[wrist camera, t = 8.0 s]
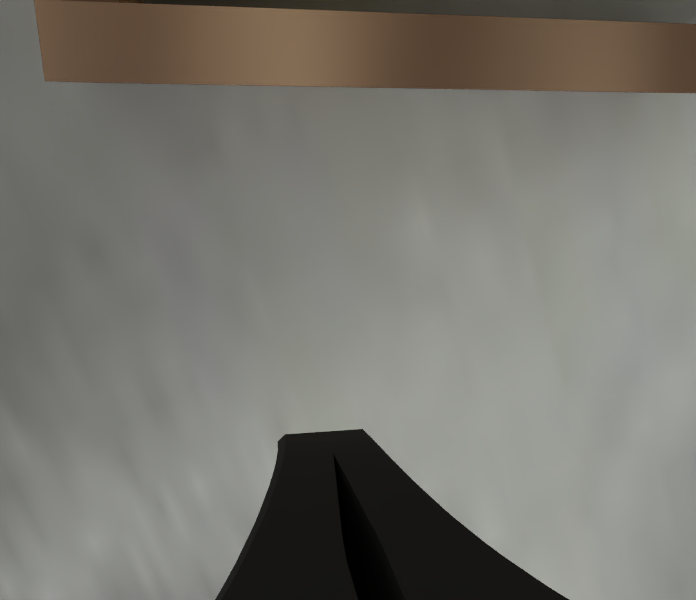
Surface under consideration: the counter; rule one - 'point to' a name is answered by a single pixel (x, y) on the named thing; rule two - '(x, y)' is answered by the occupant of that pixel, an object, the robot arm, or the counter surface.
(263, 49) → the wooden u-shaped block
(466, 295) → the counter surface
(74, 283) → the counter surface
